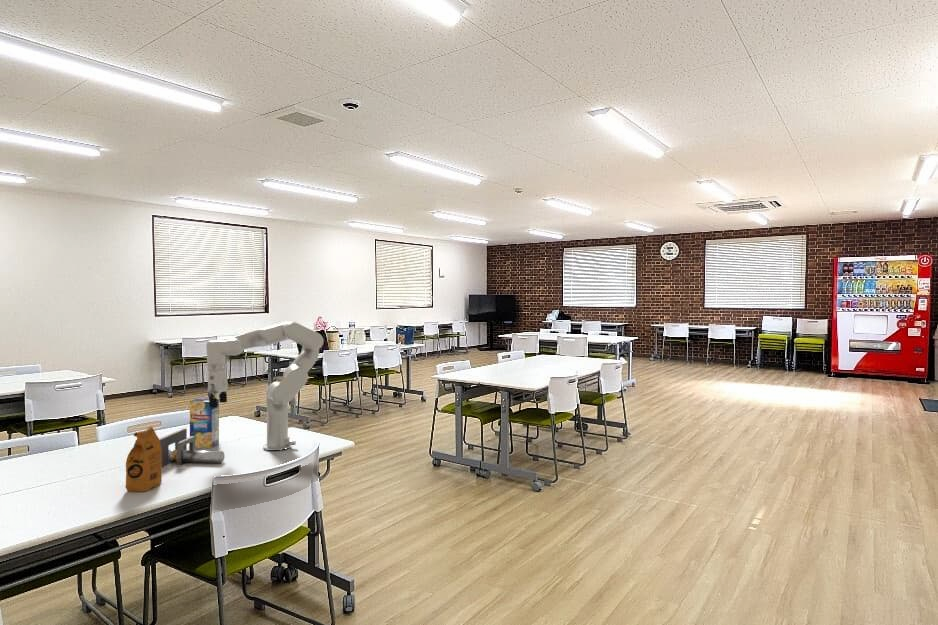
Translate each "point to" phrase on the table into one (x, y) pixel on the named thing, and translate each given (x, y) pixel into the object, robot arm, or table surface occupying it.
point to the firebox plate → (169, 440)
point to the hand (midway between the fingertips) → (218, 404)
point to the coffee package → (144, 462)
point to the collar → (180, 448)
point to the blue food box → (204, 423)
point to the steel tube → (198, 456)
